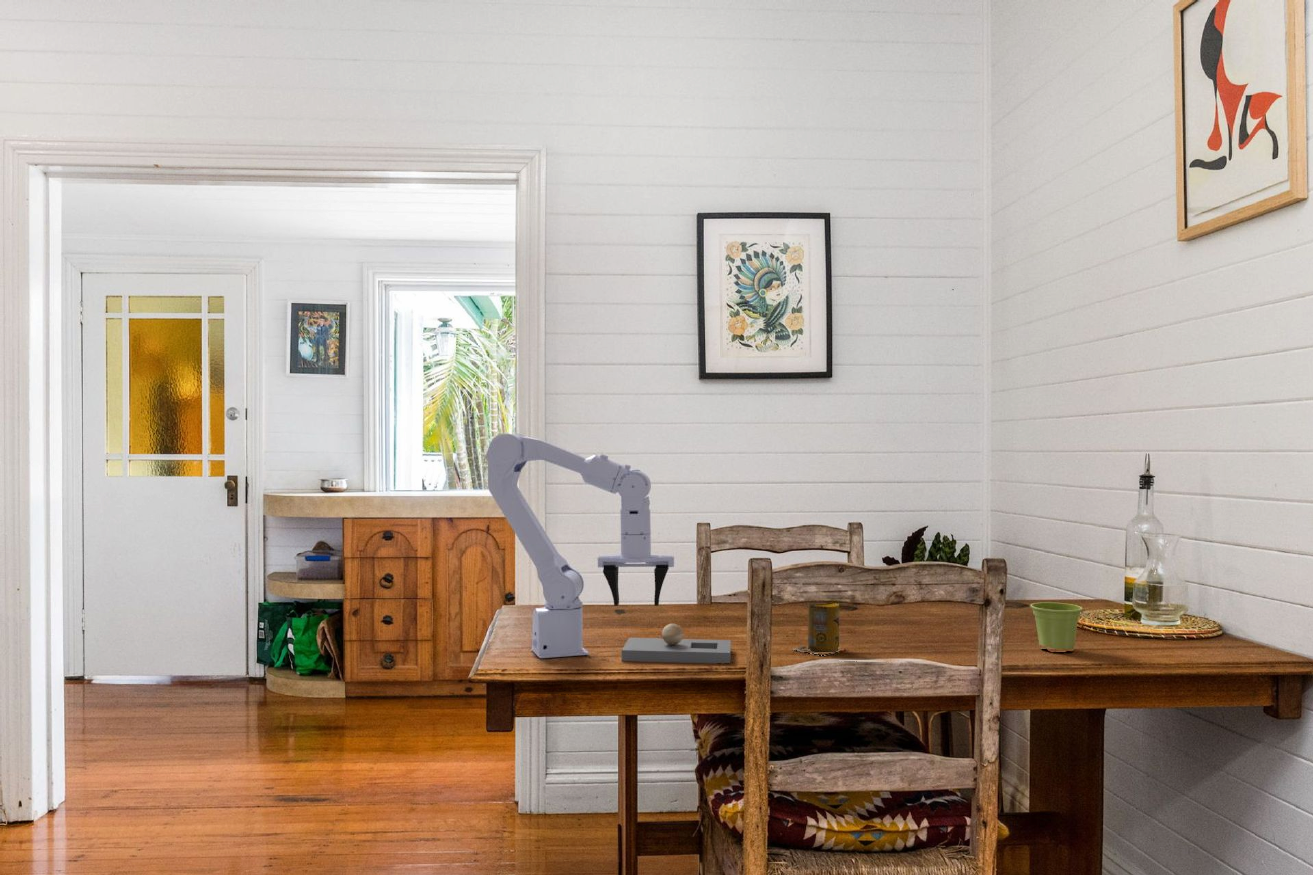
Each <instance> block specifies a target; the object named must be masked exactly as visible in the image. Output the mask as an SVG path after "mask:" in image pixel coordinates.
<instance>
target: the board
mask: <svg viewBox="0 0 1313 875" xmlns="http://www.w3.org/2000/svg"><path fill="white" fill-rule="evenodd" d="M731 648H732V641H731V639H704V638H702V639H697V638H693V639H692V638H682V640H681V641H680V642H679V643H678V644H676V645H669V644H667V643H666V642H665V641H664V640H663V638H662V637H660V638H659V637H658V638H656V637H654V638H653V637H652V638H651V637H628V638H627V641H626V642H625V644H624V645H623V648H622V649H621V661H622V662H639V663H641V662H642V663H645V662H646V663H647V662H649V663H680V664H681V663H685V664H717V663H722V664H721V665H725V664H724V663H729V664H731V653H732V649H731ZM729 664H728V665H729Z"/></svg>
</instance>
